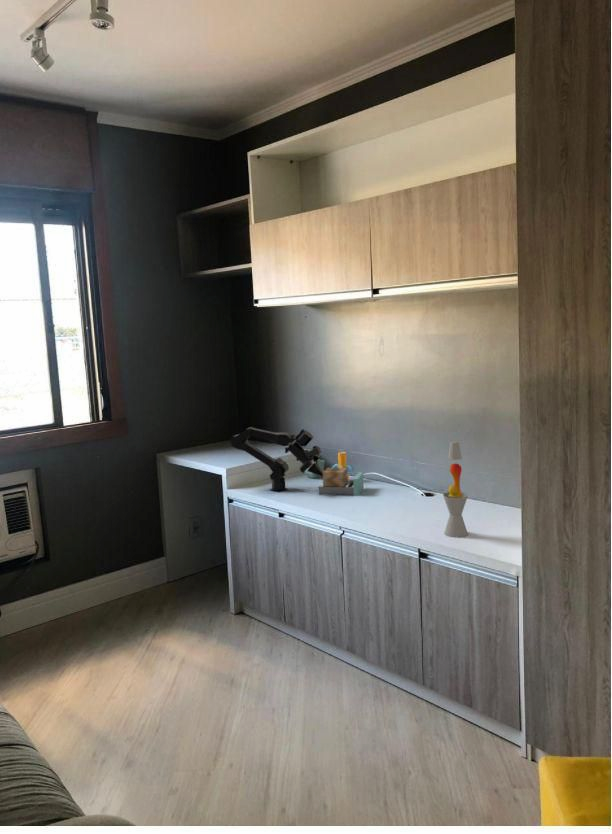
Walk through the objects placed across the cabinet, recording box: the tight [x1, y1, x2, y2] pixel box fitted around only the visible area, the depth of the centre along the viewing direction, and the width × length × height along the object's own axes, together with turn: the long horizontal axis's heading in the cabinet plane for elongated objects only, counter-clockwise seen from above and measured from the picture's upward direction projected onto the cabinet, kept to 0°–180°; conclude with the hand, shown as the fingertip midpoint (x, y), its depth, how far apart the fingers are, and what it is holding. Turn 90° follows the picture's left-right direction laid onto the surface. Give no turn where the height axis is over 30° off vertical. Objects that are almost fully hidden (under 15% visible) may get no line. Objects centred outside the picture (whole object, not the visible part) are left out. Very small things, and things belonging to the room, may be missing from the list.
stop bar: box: [352, 471, 364, 497], centre depth 319 cm, size 2×14×8 cm, turn 164°
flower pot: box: [304, 458, 326, 479], centre depth 354 cm, size 9×9×9 cm
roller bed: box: [318, 480, 354, 496], centre depth 322 cm, size 17×14×4 cm
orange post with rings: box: [331, 451, 355, 481], centre depth 342 cm, size 12×10×15 cm
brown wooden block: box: [322, 467, 348, 487], centre depth 322 cm, size 10×9×7 cm
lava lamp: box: [442, 441, 469, 538], centre depth 249 cm, size 9×9×35 cm
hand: (322, 475), depth 323 cm, fingers closed
